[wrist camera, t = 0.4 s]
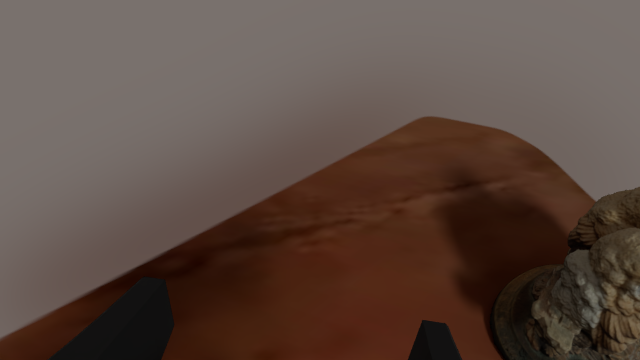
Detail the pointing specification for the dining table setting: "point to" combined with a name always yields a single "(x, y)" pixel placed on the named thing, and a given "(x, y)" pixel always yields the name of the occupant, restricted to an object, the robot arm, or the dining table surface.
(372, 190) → the dining table surface
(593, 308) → the rock sculpture
